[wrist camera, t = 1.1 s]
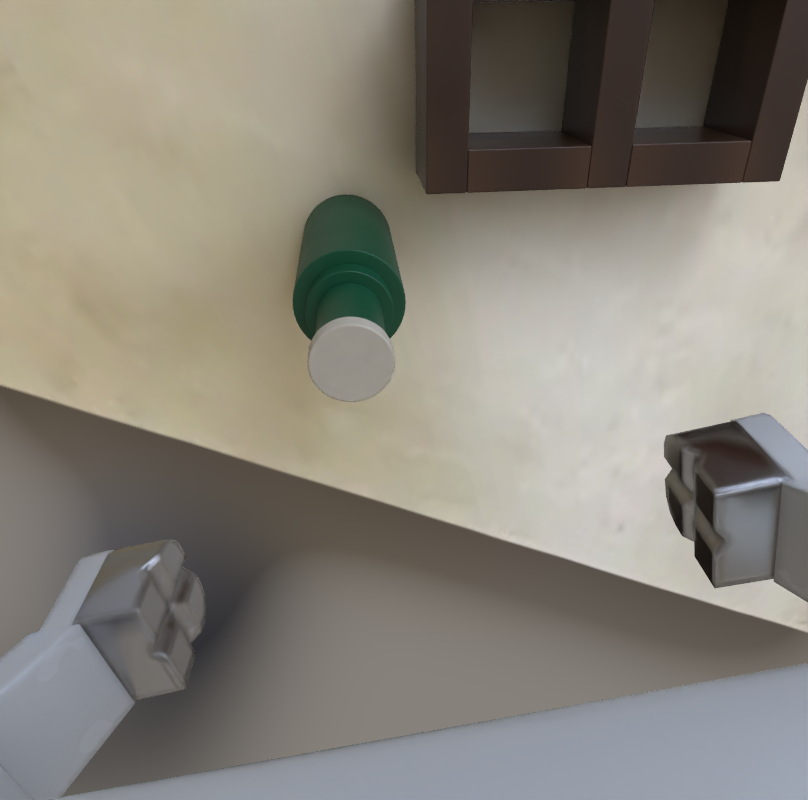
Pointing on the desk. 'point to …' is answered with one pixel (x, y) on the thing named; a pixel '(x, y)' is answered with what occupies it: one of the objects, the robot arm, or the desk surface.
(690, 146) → the hole block
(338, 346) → the bottle
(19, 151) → the desk surface
